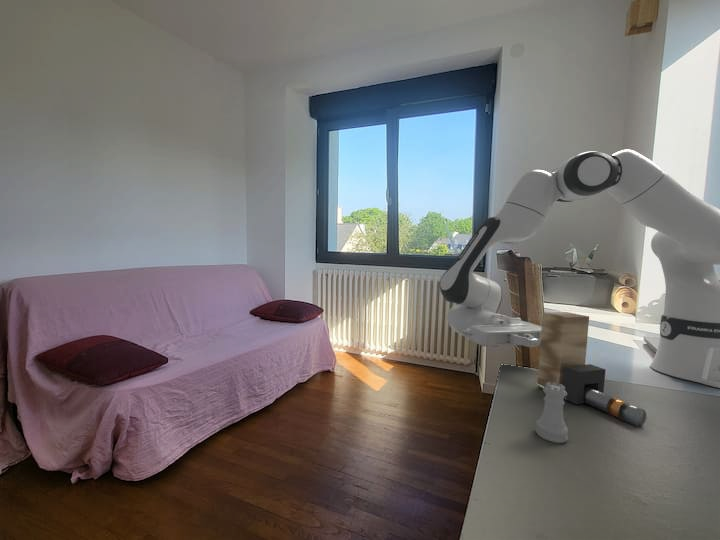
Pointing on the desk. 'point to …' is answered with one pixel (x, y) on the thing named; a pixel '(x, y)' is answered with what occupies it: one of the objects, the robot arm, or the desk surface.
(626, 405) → the grey metal rod
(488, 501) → the desk surface
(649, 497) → the desk surface
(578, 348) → the tall wooden block
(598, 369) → the black block
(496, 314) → the robot arm
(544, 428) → the rook chess piece
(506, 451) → the desk surface
